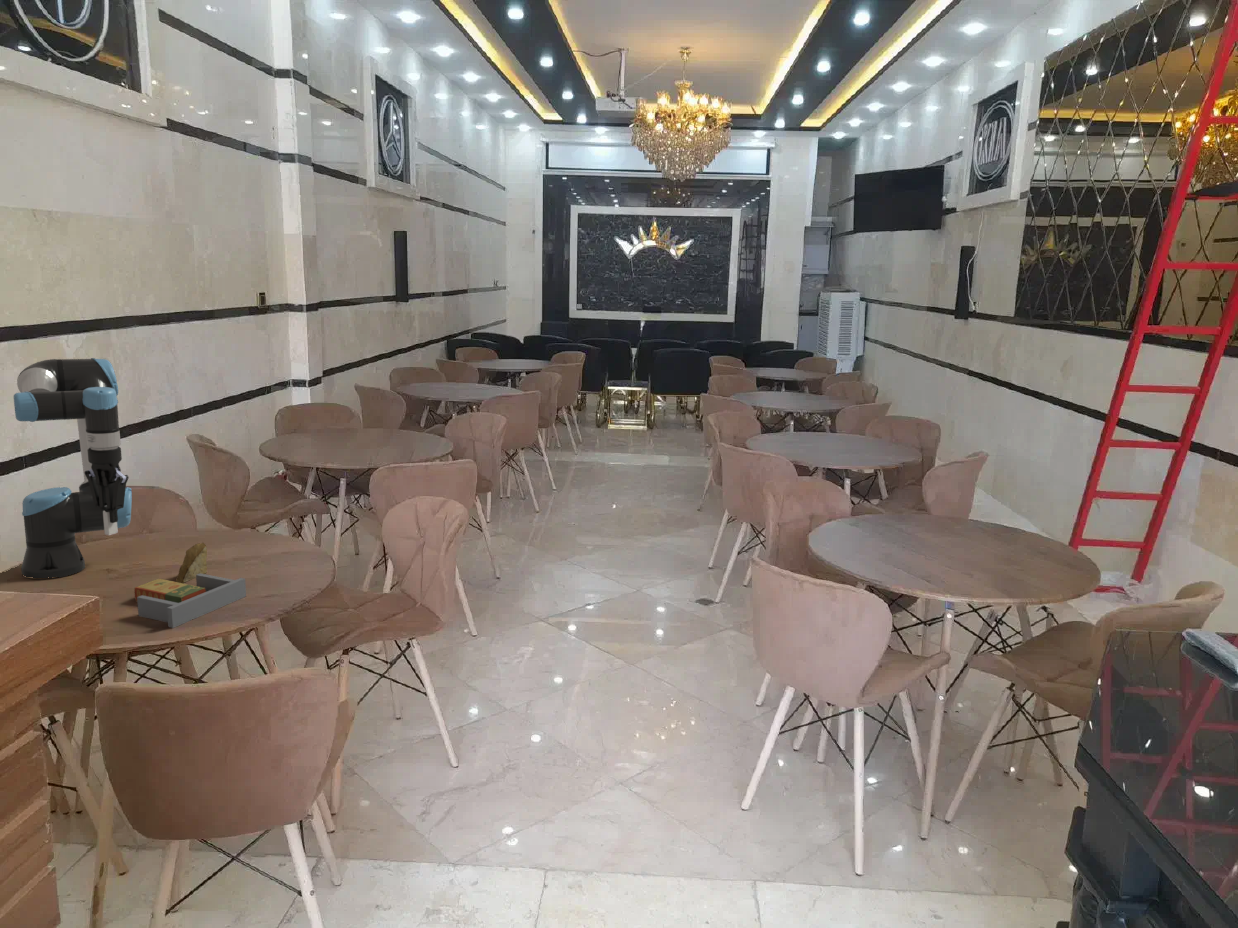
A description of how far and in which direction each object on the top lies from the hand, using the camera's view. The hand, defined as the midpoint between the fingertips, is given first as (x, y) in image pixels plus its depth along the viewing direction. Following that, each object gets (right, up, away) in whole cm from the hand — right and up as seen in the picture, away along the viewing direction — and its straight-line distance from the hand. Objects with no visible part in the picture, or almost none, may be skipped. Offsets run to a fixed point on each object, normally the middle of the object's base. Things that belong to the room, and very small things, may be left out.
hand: (111, 533), depth 230 cm
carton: (+17, -18, -2) cm, 25 cm away
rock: (+13, -14, +16) cm, 25 cm away
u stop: (+24, -19, -6) cm, 31 cm away
